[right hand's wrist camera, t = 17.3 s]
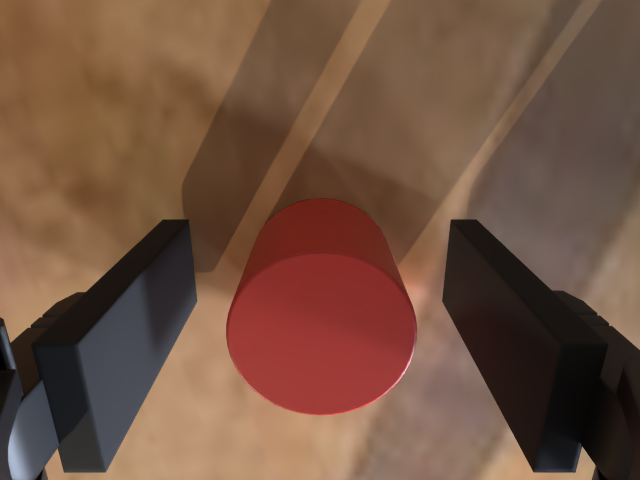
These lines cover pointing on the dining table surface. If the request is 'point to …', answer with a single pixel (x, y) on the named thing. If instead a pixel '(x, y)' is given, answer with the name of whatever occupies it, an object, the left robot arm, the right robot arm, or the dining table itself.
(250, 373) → the can
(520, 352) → the right robot arm
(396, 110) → the dining table surface
